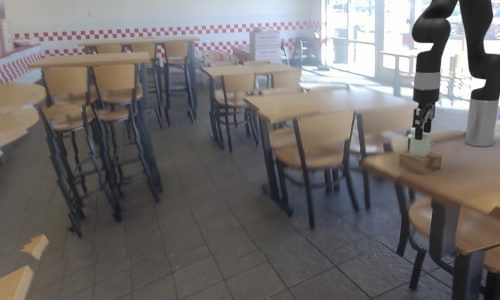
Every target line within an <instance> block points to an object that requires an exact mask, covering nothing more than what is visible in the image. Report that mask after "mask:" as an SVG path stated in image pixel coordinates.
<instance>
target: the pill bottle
mask: <svg viewBox="0 0 500 300" xmlns="http://www.w3.org/2000/svg"><path fill="white" fill-rule="evenodd" d="M409 132H410V133H409V134H408V135H407V142H406V143H407V145H406V147H407V148H406V151H410V139H411V136H413V135H414V134H415V128H413V127H411V128H410V131H409Z"/></svg>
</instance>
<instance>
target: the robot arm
mask: <svg viewBox="0 0 500 300" xmlns="http://www.w3.org/2000/svg"><path fill="white" fill-rule="evenodd" d="M457 4H459V11H460V17H461V22H462V25H463V31H464V36H465V42H466V43H465V44H466V53H467V66H468V71H469V75H470V76H471V77H472V78H474V79H478V80H484V81H485V83H484V84H483V85H484V86H482V87H479V88H475V89H472V90H471V92H470V97H469V98H470V99H469V107H468V114H467V115H468V116H467V124H466V130H465V131H466V132H465V136H464V137H465V138H464V143H465V144H466V145H469V146H474V147H480V148H481V147H483V148H485V147H491V146H492V145H493V144H494V136H495V132H496V126H497V125H496V123H497V119H498V118H497V116H498V110H499V102H500V53H486V51H485V44H484V43H485V41H484V40H485V36H486V34H487V32H488V31H489V29H490V27H491V25H492V23H493V19H494V10H493V4H492V0H431V2H430V3H429V5H428V6H427V7H426V8H425V9H424V10H423V12H422V13H421V14H420V15H419V17H418V18H417V19H416V20H415V22H414V24H413V26H412V29H411V37H412V40H413V41H414V42H416V43H418V44H432V46H431V48H430V49H429V50H425V51H424V50H423V51H420V52H418V53H417V54H416V57H415V58H416V60H415V73H414V79H413V89H412V90H413V91H412V101H413V102H415V103H418V105H417V107H416V108H414V109H413V116H412V117H413V118H412V127H411V128H415V139H416V140H422V137H423V134H424V133H426V134H430V133H431V132H432V122H433V121H434V119H435V117H436V115H435V114H436V103H437V102H439V100H440V91H441V70H442V60H443V59H442V57H443V55H444V51H445V50H446V49H445V48H446V46H447V43H448V40H449V38H450V35H451V32H452V27H451V26H452V25H451V23H450V21H449V20H448V18H450V17H451V16H452V15H453V13H454V11H455V9H456V6H457Z"/></svg>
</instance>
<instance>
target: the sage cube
mask: <svg viewBox="0 0 500 300" xmlns="http://www.w3.org/2000/svg"><path fill="white" fill-rule="evenodd" d="M431 143H432V135H430V134H424V133H423V137H422V140H416V139H415V134H414V135H413V136H411V139H410V151H409V155H415V156H421V157H426V156H427V155H428V154H429V153H430V152H431Z"/></svg>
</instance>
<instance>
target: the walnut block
mask: <svg viewBox="0 0 500 300" xmlns="http://www.w3.org/2000/svg"><path fill="white" fill-rule="evenodd" d="M442 158H443V156H442V154H439V153H437V152H433V151H430V153H429V154H428V155H427V156H426V157H421V156H415V155H409V151H407V150H405V151H403V152H400V153H399V163H398V167H399V166H400V168H402V169H404V168H405V170H407V171H410V172H412V173H414V174H417V175H420V176H422V175H425V174H428V173H432V172H435V171H437V170H441V167H442Z"/></svg>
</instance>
